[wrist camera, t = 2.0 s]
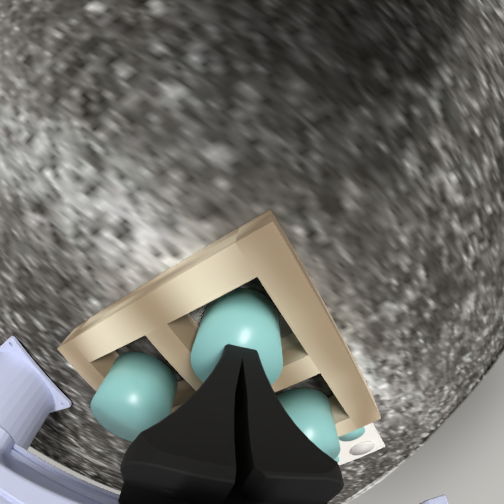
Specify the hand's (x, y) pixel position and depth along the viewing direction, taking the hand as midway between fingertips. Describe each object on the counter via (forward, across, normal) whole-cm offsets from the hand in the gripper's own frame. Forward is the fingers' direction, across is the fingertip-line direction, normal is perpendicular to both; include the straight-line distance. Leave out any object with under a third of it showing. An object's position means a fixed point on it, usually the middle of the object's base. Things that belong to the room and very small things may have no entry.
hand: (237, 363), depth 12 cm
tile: (+4, -11, +11) cm, 16 cm away
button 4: (+3, 0, 0) cm, 3 cm away
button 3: (+2, -5, +5) cm, 7 cm away
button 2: (+2, +5, +5) cm, 7 cm away
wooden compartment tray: (+4, 0, +5) cm, 6 cm away
